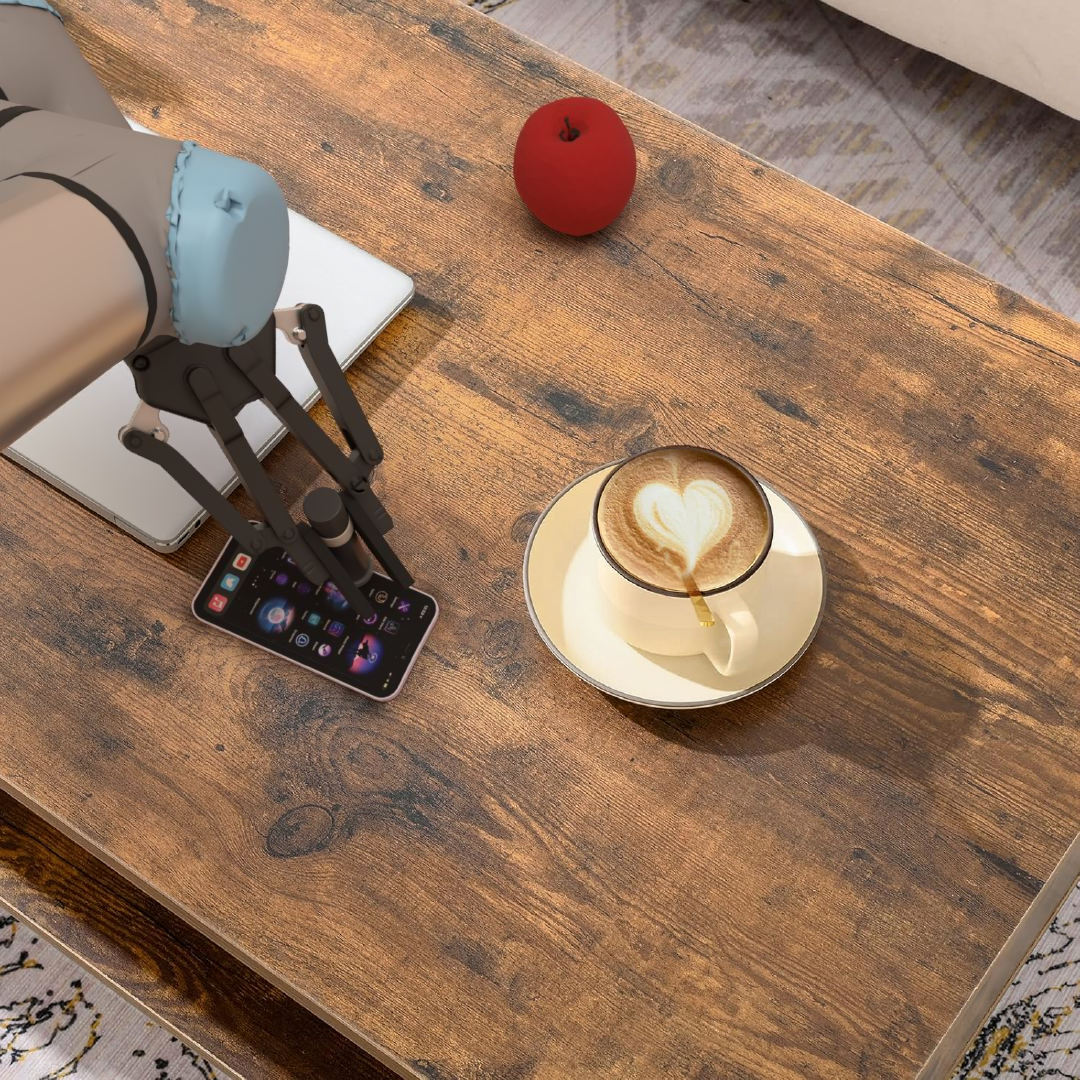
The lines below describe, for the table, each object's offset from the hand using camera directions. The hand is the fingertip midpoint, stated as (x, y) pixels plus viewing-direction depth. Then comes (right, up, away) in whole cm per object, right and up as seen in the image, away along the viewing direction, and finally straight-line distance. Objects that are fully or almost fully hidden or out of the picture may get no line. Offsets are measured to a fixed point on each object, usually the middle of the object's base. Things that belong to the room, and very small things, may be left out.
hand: (383, 595), depth 70 cm
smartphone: (-5, -1, +5) cm, 7 cm away
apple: (+12, +28, +17) cm, 35 cm away
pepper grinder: (-2, +1, +4) cm, 5 cm away
